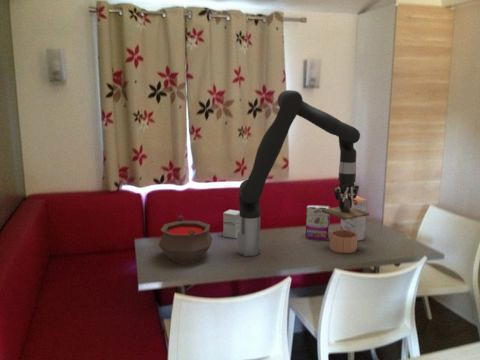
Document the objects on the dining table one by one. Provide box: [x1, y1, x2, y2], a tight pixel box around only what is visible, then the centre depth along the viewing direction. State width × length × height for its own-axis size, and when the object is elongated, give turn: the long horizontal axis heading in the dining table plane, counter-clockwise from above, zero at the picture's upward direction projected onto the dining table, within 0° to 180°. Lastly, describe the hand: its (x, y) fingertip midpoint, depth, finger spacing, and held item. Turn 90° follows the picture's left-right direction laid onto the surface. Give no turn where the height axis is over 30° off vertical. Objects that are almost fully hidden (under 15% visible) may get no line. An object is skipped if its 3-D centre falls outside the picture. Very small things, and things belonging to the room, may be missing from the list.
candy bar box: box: [305, 204, 331, 241], centre depth 207 cm, size 11×5×16 cm, turn 73°
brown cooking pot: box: [158, 215, 213, 264], centre depth 181 cm, size 24×24×16 cm
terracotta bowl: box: [329, 229, 358, 254], centre depth 195 cm, size 12×12×7 cm
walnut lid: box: [322, 199, 370, 220], centre depth 191 cm, size 15×15×6 cm
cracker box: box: [339, 194, 368, 242], centre depth 210 cm, size 14×6×21 cm, turn 17°
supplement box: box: [222, 209, 240, 239], centre depth 210 cm, size 7×7×13 cm
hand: (345, 208), depth 191 cm, fingers closed on walnut lid, 4 cm apart
